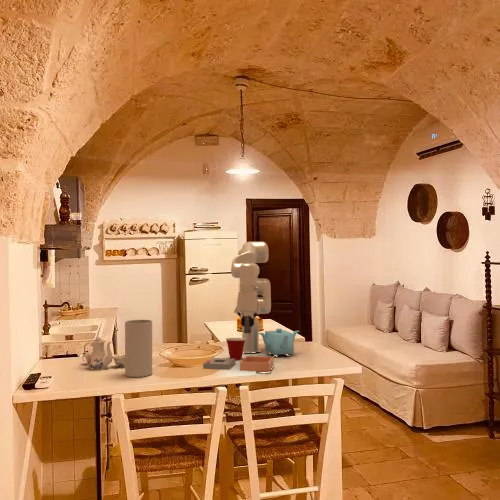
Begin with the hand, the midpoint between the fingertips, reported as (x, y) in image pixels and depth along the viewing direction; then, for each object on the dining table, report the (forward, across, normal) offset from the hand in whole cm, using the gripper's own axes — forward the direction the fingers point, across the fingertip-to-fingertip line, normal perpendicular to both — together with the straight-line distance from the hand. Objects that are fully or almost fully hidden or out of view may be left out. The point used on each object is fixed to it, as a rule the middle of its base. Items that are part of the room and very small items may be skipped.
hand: (247, 325), depth 238 cm
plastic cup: (+22, +11, -18) cm, 30 cm away
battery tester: (+21, +14, 0) cm, 26 cm away
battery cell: (+3, 0, 0) cm, 3 cm away
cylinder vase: (+22, +48, +21) cm, 56 cm away
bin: (+21, -5, 0) cm, 22 cm away
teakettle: (+22, -10, -36) cm, 43 cm away
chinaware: (+22, +73, +11) cm, 77 cm away
